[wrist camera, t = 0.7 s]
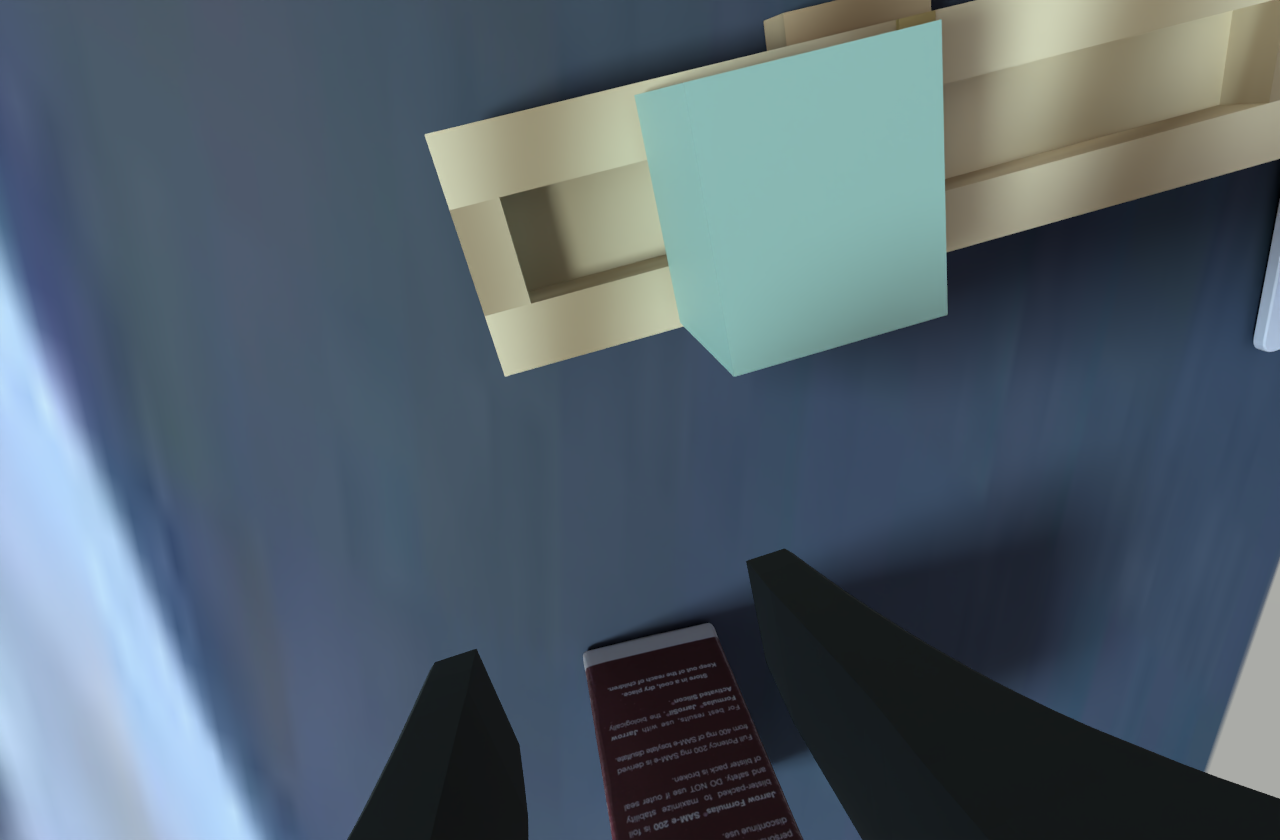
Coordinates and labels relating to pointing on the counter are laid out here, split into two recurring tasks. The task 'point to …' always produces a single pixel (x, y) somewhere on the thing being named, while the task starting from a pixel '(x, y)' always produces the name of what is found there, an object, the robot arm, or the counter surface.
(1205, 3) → the beam
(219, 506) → the counter surface
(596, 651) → the supplement box
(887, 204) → the block
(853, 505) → the counter surface
